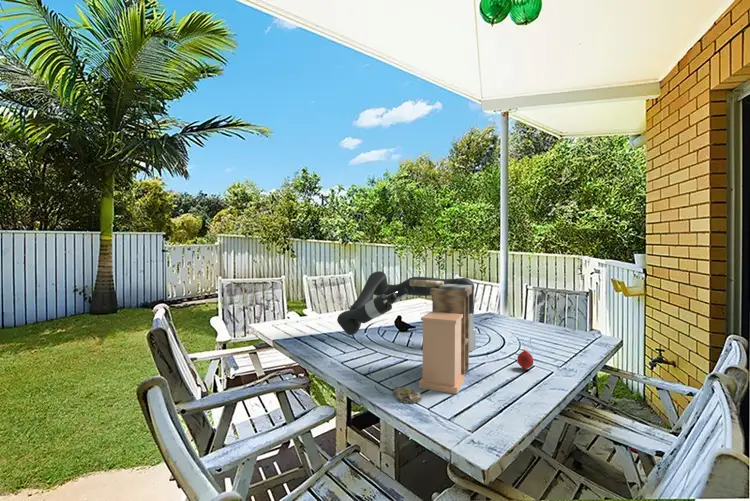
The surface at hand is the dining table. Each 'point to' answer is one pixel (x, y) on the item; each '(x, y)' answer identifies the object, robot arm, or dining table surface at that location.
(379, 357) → the dining table surface
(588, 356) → the dining table surface
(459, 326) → the terracotta pedestal
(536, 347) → the dining table surface
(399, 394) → the mineral rock
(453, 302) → the plant stand
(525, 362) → the onion
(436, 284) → the trowel
